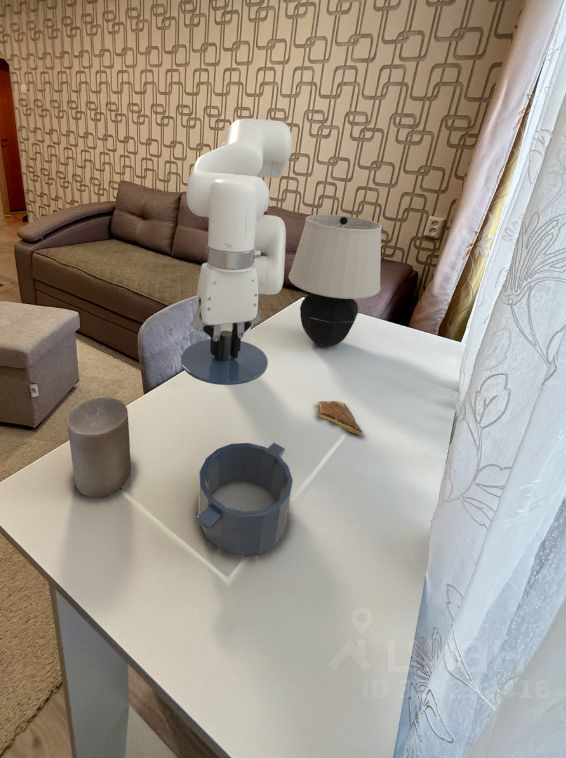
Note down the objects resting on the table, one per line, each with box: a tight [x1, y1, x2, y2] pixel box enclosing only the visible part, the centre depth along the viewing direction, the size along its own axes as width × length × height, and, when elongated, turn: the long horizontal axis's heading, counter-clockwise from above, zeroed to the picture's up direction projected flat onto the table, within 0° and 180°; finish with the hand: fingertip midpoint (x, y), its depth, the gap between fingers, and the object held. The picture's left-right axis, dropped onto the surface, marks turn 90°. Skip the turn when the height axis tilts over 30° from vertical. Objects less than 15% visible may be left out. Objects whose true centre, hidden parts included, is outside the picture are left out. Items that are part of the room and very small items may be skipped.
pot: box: [196, 442, 294, 557], centre depth 64 cm, size 15×20×8 cm
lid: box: [180, 331, 269, 386], centre depth 71 cm, size 16×16×6 cm
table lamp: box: [288, 214, 383, 348], centre depth 118 cm, size 27×27×40 cm
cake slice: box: [317, 400, 363, 436], centre depth 89 cm, size 11×8×2 cm
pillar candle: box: [66, 397, 132, 498], centre depth 68 cm, size 10×10×15 cm
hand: (224, 355), depth 71 cm, fingers closed on lid, 2 cm apart
